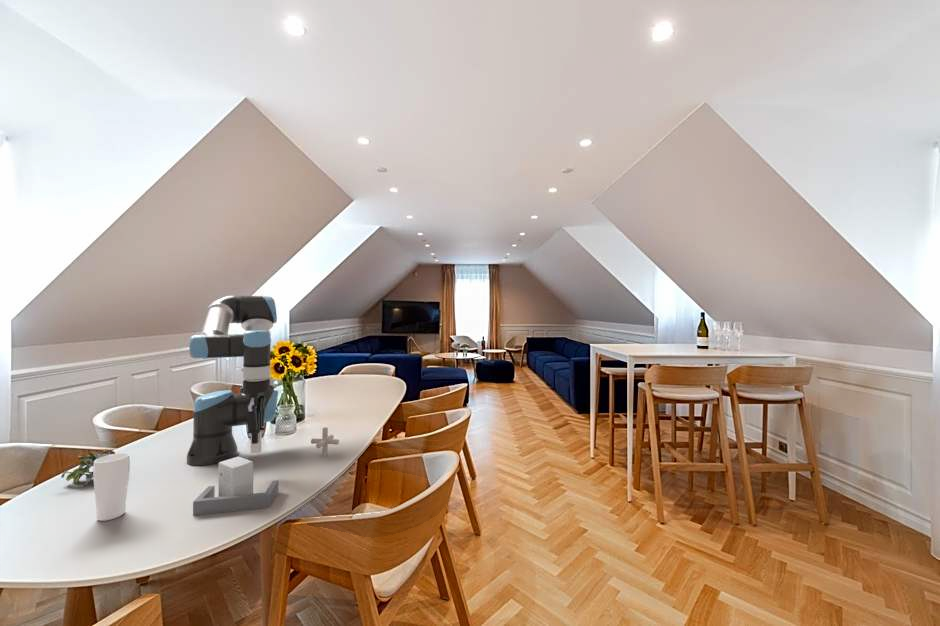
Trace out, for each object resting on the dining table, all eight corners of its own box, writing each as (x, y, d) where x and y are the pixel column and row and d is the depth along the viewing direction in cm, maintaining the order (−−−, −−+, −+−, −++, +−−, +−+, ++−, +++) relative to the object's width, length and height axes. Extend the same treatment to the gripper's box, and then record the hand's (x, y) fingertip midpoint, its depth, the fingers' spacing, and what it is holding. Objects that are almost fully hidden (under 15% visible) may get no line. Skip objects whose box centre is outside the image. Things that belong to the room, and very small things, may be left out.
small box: (253, 498, 106) (254, 461, 106) (232, 507, 101) (232, 468, 101) (238, 491, 110) (239, 455, 110) (217, 499, 105) (218, 462, 105)
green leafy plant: (107, 493, 120) (136, 459, 123) (79, 503, 109) (112, 465, 113) (76, 473, 119) (106, 440, 123) (45, 482, 109) (79, 445, 112)
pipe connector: (343, 450, 144) (343, 424, 144) (331, 460, 134) (331, 432, 134) (318, 449, 145) (319, 423, 145) (304, 459, 135) (305, 431, 135)
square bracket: (193, 515, 97) (193, 501, 97) (208, 498, 106) (208, 486, 106) (269, 507, 101) (269, 494, 101) (278, 492, 110) (278, 480, 110)
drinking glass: (86, 526, 92) (87, 464, 92) (100, 512, 98) (101, 454, 98) (122, 520, 94) (123, 460, 94) (133, 507, 101) (134, 451, 101)
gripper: (250, 375, 125) (249, 445, 126) (235, 383, 112) (235, 461, 113) (275, 374, 127) (274, 443, 127) (263, 382, 114) (262, 459, 115)
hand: (255, 452), depth 120 cm, fingers closed
